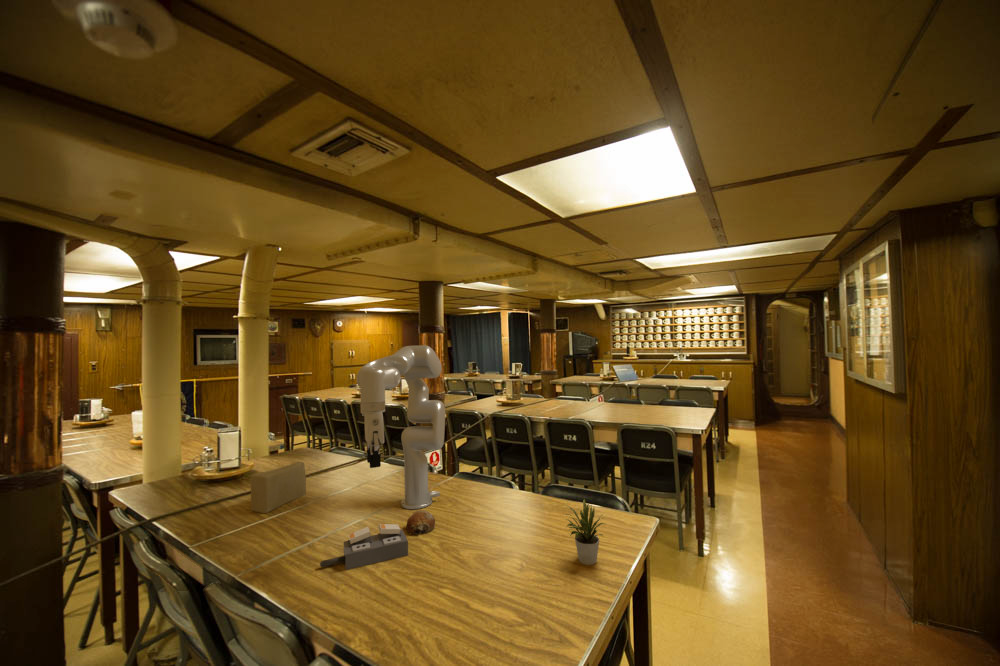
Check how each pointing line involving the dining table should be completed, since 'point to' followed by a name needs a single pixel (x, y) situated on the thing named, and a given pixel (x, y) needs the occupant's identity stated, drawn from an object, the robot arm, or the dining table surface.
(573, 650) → the dining table surface
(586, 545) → the house plant
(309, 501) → the dining table surface
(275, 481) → the beige slab
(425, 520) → the brown round lump
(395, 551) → the power strip
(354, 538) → the block
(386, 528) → the rocker
